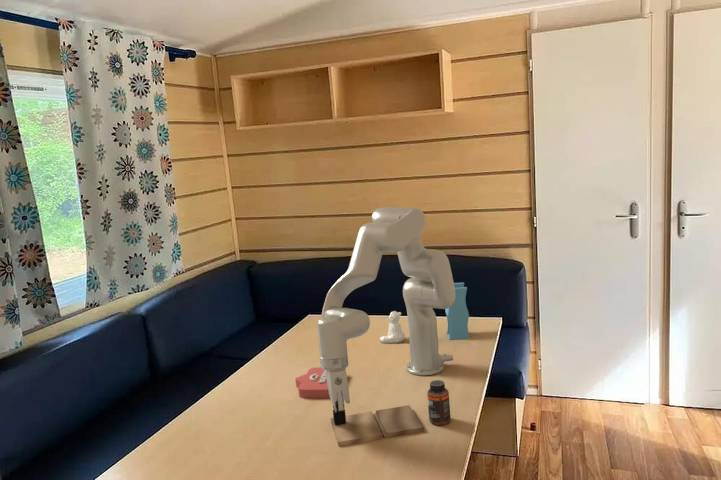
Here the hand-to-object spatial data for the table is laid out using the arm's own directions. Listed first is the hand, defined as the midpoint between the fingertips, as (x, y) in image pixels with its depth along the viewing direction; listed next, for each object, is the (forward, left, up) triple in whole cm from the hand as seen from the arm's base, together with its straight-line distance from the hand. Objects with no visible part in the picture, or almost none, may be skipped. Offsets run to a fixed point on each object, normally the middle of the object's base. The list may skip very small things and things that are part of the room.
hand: (340, 423), depth 169 cm
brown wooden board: (-16, +3, -1) cm, 16 cm away
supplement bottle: (-27, +6, -1) cm, 28 cm away
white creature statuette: (-31, -62, -2) cm, 69 cm away
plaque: (+3, -30, -2) cm, 31 cm away
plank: (-4, +3, -1) cm, 5 cm away
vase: (-55, -57, -1) cm, 79 cm away
